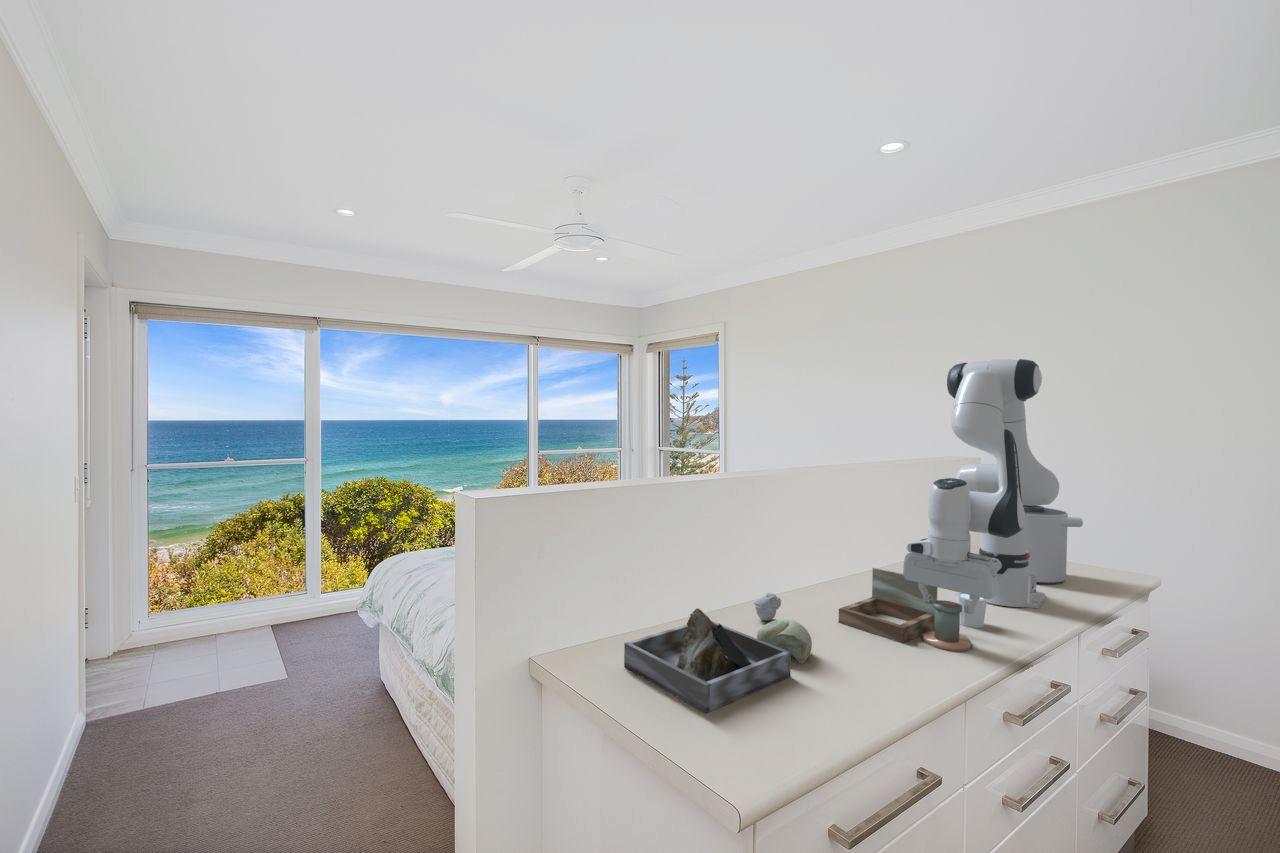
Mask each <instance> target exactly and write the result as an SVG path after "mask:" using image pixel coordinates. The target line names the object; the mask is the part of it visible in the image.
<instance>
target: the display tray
mask: <svg viewBox="0 0 1280 853" xmlns="http://www.w3.org/2000/svg"><path fill="white" fill-rule="evenodd" d="M711 621H712V620H711ZM712 622H713V623H714V624H715V625H716V626H718V625H719V623H718V622H716V621H712ZM721 625H722V627H723V628H724V629H725V631H726V633H727V635H728V636H729V637H730V639H731V640H732V641H733V643H734V644H735V645H736V646H737V647H738V649H739V650H741V651H742V652H743V654H744V655H745V656H746V657H747V659H748V660H749V661H750V662H751V663H752V664H751V665H749V666H746V667H743V668H741V669H738V670H736V671H733V672H731V673H728V674H725V675H723V676H720V677H718V678H715V679H712V680H710V681H707V682H705V681H703V680H701V679H699V678H697V677H696V676H694V675H692V674H690V673H688V672H686V671H684V670H682V669H680V668H678V667H676V666H677V664H678V661H679V656H680V655H681V652H682V651H683V648H682V647H683V644H684V643H685V638H686V634H687V633H688V631H687V629H688V626H687V624H684V625H682V626H678V627H674V628H672V629H668V630H664V631H660V632H657V633H655V634H654V633H653V634H650V635H647V636H644V637H641V638H637V639H633V640H631V641H627V642H624V646H623V647H624V651H623V652H624V653H623V654H624V655H623V656H624V658H623V659H624V660H623V661H624V662H623V664H624V665H623V666H624V668H626V669H627V670H628V671H631V672H632V673H634V674H636V675H638V676H639V677H642V678H643V679H645V680H646V681H648V682H650V683H651V684H654V685H655V686H656V687H659V688H660V689H663V691H666V692H668V693H670V694H671V695H673V696H674V697H676V698H678V699H680V700H682V701H683V702H685V703H687V704H688V705H690V706H692V707H694V708H695V709H697V710H699V711H701V712H702V713H704V714H709V713H710V712H712V711H715V710H717V709H719V708H722V707H724V706H727V705H728V704H731V703H733V702H735V701H738V700H740V699H742V698H745V697H747V696H750V695H752V694H754V693H756V692H758V691H761V690H764V689H765V688H768V687H770V686H773V685H775V684H777V683H779V682H781V681H785V680H786V679H789V678H790V677H791V670H792V668H791V667H792V666H791V665H792V664H791V662H792V660H791V659H792V655H791V652H789V651H786V650H784V649H781V648H779V647H776V646H774V645H771V644H769V643H766V642H764V641H761V640H759V639H757V637H756V638H755V637H753V636H751V635H748V634H745V633H743V632H741V631H739V630H737V629H733V628H730V627H729V626H725V625H723V624H721Z"/></svg>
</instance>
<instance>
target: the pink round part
mask: <svg viewBox="0 0 1280 853" xmlns="http://www.w3.org/2000/svg"><path fill="white" fill-rule="evenodd" d="M922 641H923V642H924V643H925V644H927V645H929V646H930V647H933V648H935V649H940V650H944V651H948V652H949V651H951V652H966V651H968V650H970V649H971V648H972V647H971V646H972V642H971V640H970V639H969V638H968V637H966V636H964V635H961V634H959V642H956V643H950V642H944V641H940V640H938V639H936V638H935V637H934V629H932V630H930V631H926V632H924V633H923V634H922Z"/></svg>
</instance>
